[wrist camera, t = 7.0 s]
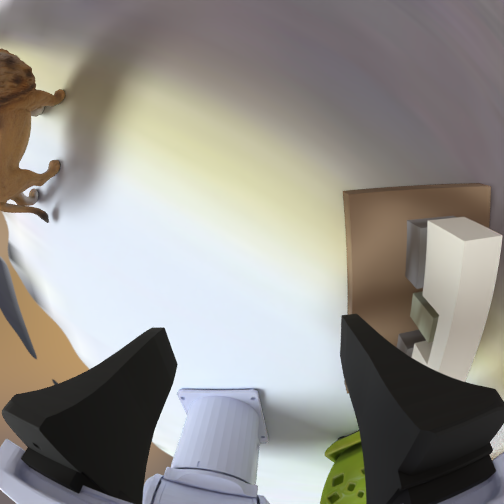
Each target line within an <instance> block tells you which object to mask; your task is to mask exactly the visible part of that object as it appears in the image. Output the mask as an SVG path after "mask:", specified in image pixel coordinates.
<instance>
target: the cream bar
mask: <svg viewBox="0 0 504 504" xmlns="http://www.w3.org/2000/svg"><path fill="white" fill-rule="evenodd" d="M501 244H502V235H501V234H499V233H497V232H495V231H493V230H491V229H489V228H487V227H485V226H483V225H481V224H478V223H476V222H474V221H472V220H470V219H468V218H466V217H457V218H447V219H437V220H428V224H427V251H426V265H425V276H424V286H423V295H422V296H423V297H424V298H425V299H426V300H427V301H428V302H429V304H430V305H431V306H432V307H433V308H434V310H435V311H436V312H437V313H438V314H439V317H438V323H437V327H436V332H435V336H434V341H433V342H430V343H428V342H427V341H422V342H418V343H415V344H414V349H413V353H412V358H413V359H415V360H416V361H418V362H420V363H422V364H423V365H425V366H427V367H429V368H431V369H433V370H435V371H438V372H440V373H442V374H444V375H447V376H449V377H452V378H454V379H457V380H460V381H464V382H465V381H466V378H467V376H468V373H469V371H470V368H471V366H472V363H473V360H474V358H475V355H476V352H477V349H478V346H479V343H480V340H481V337H482V334H483V330H484V327H485V324H486V320H487V316H488V313H489V309H490V305H491V301H492V296H493V292H494V287H495V282H496V277H497V271H498V266H499V259H500V252H501Z"/></svg>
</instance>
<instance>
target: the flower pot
mask: <svg viewBox="0 0 504 504" xmlns="http://www.w3.org/2000/svg"><path fill="white" fill-rule="evenodd" d="M325 456H326V457H327V458H328V459H330V460H331V461H333V462H334V465H333V467H332V469H331V471H330V473H329V475H328V477H327V480H326V483H325V486H324V489H323V492H322V496H321V501H320V504H366V483H365V471H364V461H363V452H362V445H361V438H360V431H358V432H356V433H354V434H352V435H349V436H347V437H341V438H339V439H338V441H336V442H335V443H333V444H332V445H331V446H330V447H329V448H328V449H327V450H326V452H325Z"/></svg>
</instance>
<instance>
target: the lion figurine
mask: <svg viewBox="0 0 504 504" xmlns="http://www.w3.org/2000/svg"><path fill="white" fill-rule="evenodd" d="M35 88H36V84H35V76H34V75H33V73H32V68H31V67H30V66H28V65H27V64H25V63H24V62H23V61H21V60H20V59H19V58H18V57H17V56H16V55H14V54H11V53H9V52H8V51H7V50H4V49H0V211H3V212H11V213H34V214H36V215H38V216H39V217H40V218H41V219H43V220H44V221H46V222H47V223H48V222H49V219H48V215H47V213H46V212H45V211H43V210H41V209H39V208H34V207H29V205H33V204H35V203H36V202H37V200H38V191H37V190H36V189H32V190H31V191H30V193H29V197H26V196H25V195H24V194H23V193H22V192H23V191H25V190H26V189H28V188H29V187H31V186H34V185H36V186H42V185H43V184H44V183H45V182H46V181H48V180H49V179H50V178H51V177H53V176H55V175H56V174H57V173H58V171H59V169H60V163H59V161H58V160H52V161H50V163H49V167H48V170H47V171H46V172H45V173H43V174H37V173H35V172H32V171H30V170H26V169H20V168H19V162H20V160H21V159H22V156H23V155H24V153H25V150H26V148H27V145H28V141H29V137H30V131H31V116H38V115H40V114H42V113H43V111H44V106H54V105H57V104H59V103H60V102H61V101H62V100H63V99H64V97H65V92H64V91H63V90H61V89H60V90H58V91H56V92H55V94H54V95H52V94H50V93H47V92H45V91H41V90H36V89H35ZM9 199H11V200H14V201H15V202H16V203H17V205H13V204H7V203H6V202H7V200H9Z"/></svg>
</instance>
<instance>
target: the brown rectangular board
mask: <svg viewBox="0 0 504 504" xmlns="http://www.w3.org/2000/svg"><path fill="white" fill-rule="evenodd" d="M490 194H491V186H488V185H484V184H480V183H469V184H438V185H417V186H401V187H386V188H373V189H360V190H349V191H343V199H344V212H345V227H346V246H347V278H348V315H349V314H358V315H359V316H360V317H361V318H362V319H363V320H365V321H366V322H367V323H368V324H369V325H370V326H371V327H372V328H373V329H375V330H376V331H377V332H378V333H379V334H380V335H381V336H383V337H384V338H385V339H386V340H387V341H389V342H390V343H391V344H393V345H394V346H395V347H397V348H398V349H400V350H401V351H402V352H404V353H405V354H407V355H408V356H410V357H411V358H412V353H413V349H414V344H415V343H418V342H422V341H427V342H428V343H430V342H433V341H434V336H435V332H436V327H437V323H438V317H439V314H438V313H437V312H436V311H435V310H434V308H433V307H432V306H431V305H430V304H429V302H428V301H427V300H426V299H425V298H424V297H423V296H422V295H423V286H424V276H425V265H426V251H427V224H428V220H437V219H447V218H457V217H466V218H468V219H470V220H472V221H474V222H476V223H478V224H481V225H483V226H485V227H487V228H489V220H490ZM345 386H346V390H347V393H349V391H348V388H347V385H346V382H345Z"/></svg>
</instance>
